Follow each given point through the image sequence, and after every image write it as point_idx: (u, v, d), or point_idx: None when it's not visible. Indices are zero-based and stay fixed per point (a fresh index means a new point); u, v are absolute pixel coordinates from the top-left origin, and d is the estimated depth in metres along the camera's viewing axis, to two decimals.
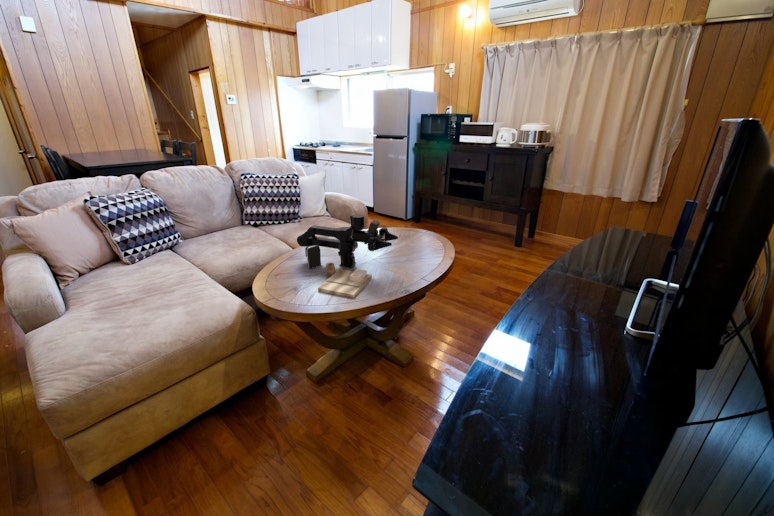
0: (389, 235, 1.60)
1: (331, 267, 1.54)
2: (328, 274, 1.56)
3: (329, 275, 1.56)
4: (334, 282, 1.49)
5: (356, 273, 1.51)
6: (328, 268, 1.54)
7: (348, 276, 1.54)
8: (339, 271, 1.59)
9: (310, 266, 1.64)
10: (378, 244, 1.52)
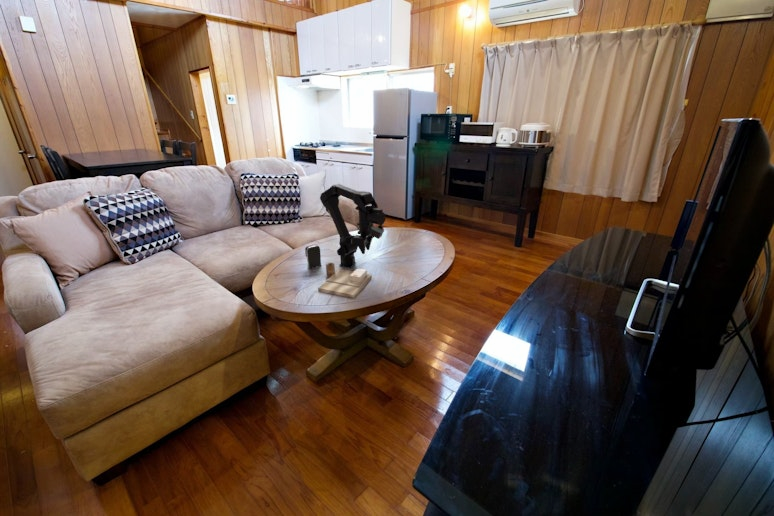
0: (369, 241, 1.57)
1: (331, 267, 1.54)
2: (328, 274, 1.56)
3: (329, 275, 1.56)
4: (334, 282, 1.49)
5: (356, 273, 1.51)
6: (328, 268, 1.54)
7: (348, 276, 1.54)
8: (339, 271, 1.59)
9: (310, 266, 1.64)
10: None
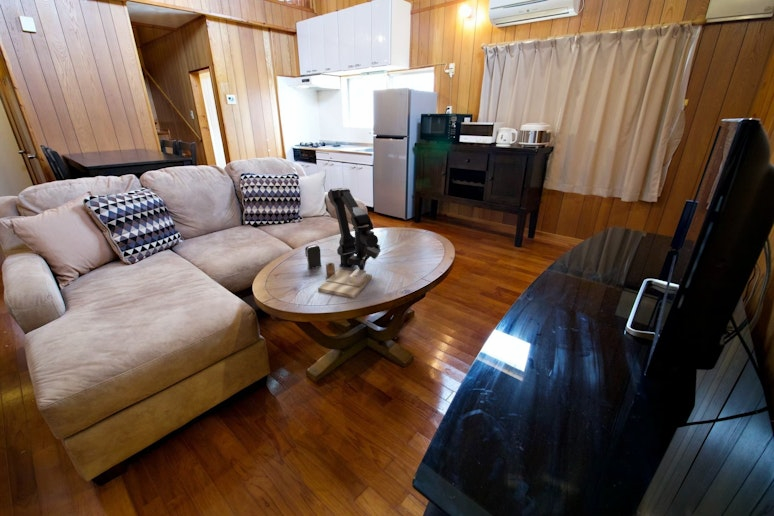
0: (363, 262, 1.54)
1: (331, 267, 1.54)
2: (328, 274, 1.56)
3: (329, 275, 1.56)
4: (334, 282, 1.49)
5: (355, 274, 1.50)
6: (328, 268, 1.54)
7: (348, 276, 1.54)
8: (339, 271, 1.59)
9: (310, 266, 1.64)
10: None
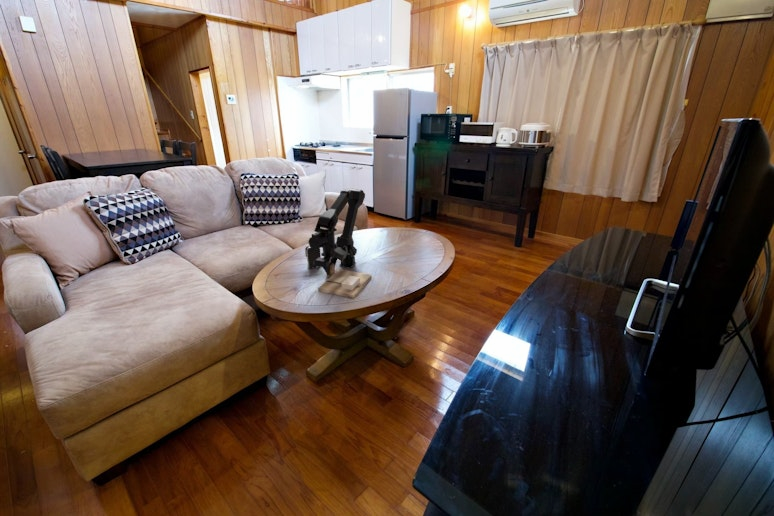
0: (333, 262, 1.57)
1: (331, 267, 1.54)
2: None
3: (329, 275, 1.56)
4: (334, 282, 1.49)
5: (348, 281, 1.44)
6: None
7: (348, 276, 1.54)
8: (339, 271, 1.59)
9: (310, 266, 1.64)
10: None
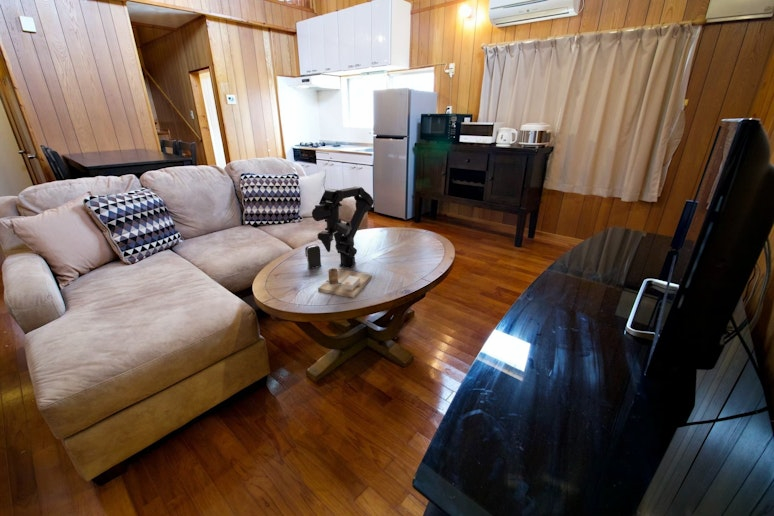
0: (339, 237, 1.60)
1: (334, 273, 1.45)
2: (331, 281, 1.46)
3: (332, 282, 1.46)
4: None
5: (348, 281, 1.44)
6: (331, 274, 1.45)
7: (348, 276, 1.54)
8: (339, 271, 1.59)
9: (310, 266, 1.64)
10: None
